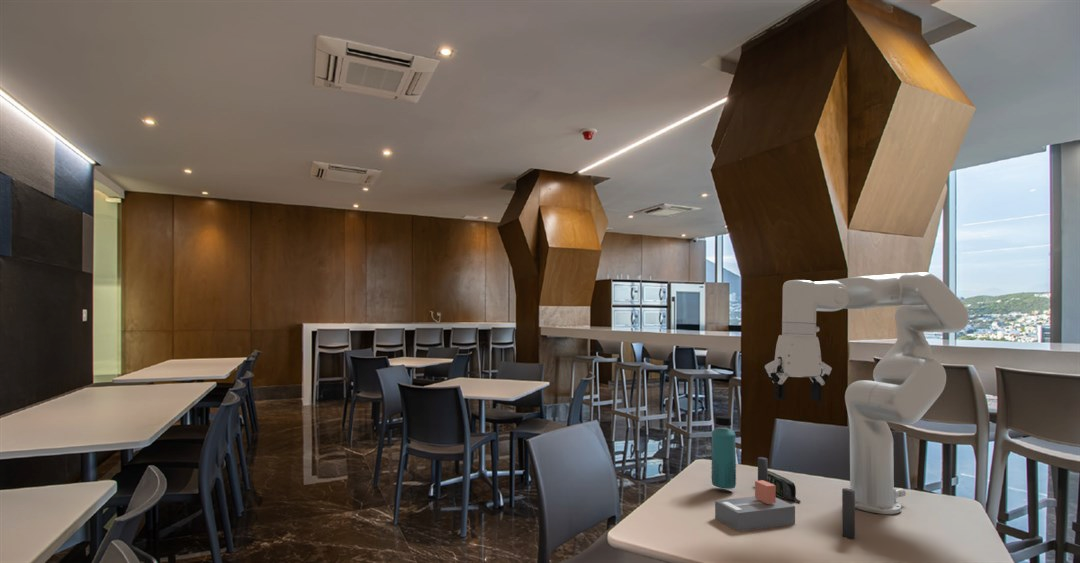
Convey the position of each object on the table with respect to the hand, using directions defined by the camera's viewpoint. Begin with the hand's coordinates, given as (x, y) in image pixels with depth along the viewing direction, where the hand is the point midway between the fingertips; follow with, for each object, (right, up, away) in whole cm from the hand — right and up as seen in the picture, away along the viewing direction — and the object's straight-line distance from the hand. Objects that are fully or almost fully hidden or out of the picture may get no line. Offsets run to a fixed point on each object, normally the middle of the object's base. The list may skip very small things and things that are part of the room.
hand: (798, 400), depth 130 cm
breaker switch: (-10, -22, -5) cm, 25 cm away
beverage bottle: (-13, -28, +15) cm, 35 cm away
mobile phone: (+1, -29, +14) cm, 32 cm away
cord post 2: (+5, -27, -13) cm, 30 cm away
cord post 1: (-4, -28, +11) cm, 30 cm away
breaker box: (-13, -27, -6) cm, 30 cm away
